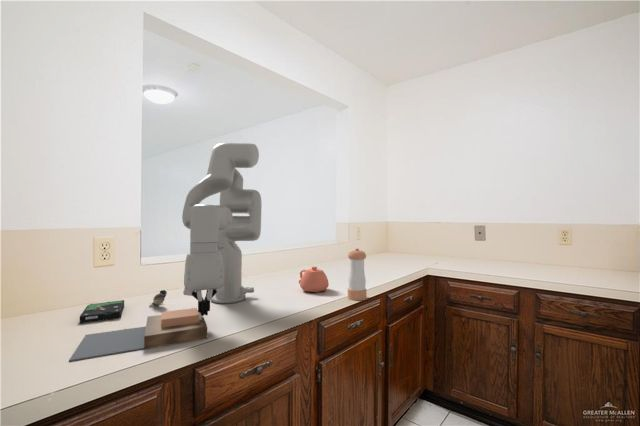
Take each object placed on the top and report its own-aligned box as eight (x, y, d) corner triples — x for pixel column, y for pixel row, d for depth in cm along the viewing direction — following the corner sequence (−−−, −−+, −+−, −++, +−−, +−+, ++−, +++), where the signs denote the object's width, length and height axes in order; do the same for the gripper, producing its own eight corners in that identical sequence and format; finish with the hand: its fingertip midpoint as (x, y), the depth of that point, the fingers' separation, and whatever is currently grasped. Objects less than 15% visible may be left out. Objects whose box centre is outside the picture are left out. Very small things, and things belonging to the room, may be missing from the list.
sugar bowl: (318, 295, 122) (318, 270, 122) (290, 291, 129) (291, 267, 129) (333, 289, 132) (333, 266, 132) (307, 285, 140) (307, 263, 140)
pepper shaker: (370, 297, 118) (370, 248, 119) (358, 301, 113) (358, 249, 114) (355, 294, 123) (355, 247, 124) (343, 297, 118) (343, 248, 119)
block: (196, 314, 88) (196, 307, 88) (199, 322, 81) (199, 314, 81) (161, 319, 83) (161, 312, 83) (161, 327, 77) (161, 319, 77)
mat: (147, 327, 86) (147, 326, 86) (144, 349, 72) (144, 347, 72) (85, 335, 79) (85, 334, 79) (68, 361, 65) (68, 360, 65)
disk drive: (121, 320, 94) (124, 307, 107) (121, 311, 94) (124, 299, 107) (79, 325, 89) (87, 311, 101) (79, 316, 89) (87, 303, 101)
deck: (200, 319, 92) (200, 309, 92) (207, 338, 78) (207, 326, 78) (147, 327, 86) (147, 316, 86) (144, 349, 72) (144, 336, 72)
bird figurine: (172, 306, 107) (171, 289, 106) (156, 311, 102) (155, 293, 102) (163, 303, 110) (162, 287, 109) (148, 308, 105) (147, 291, 105)
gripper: (229, 246, 92) (228, 307, 92) (174, 248, 85) (173, 314, 85) (234, 248, 86) (234, 314, 85) (175, 251, 79) (175, 322, 78)
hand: (203, 314), depth 85 cm, fingers closed
